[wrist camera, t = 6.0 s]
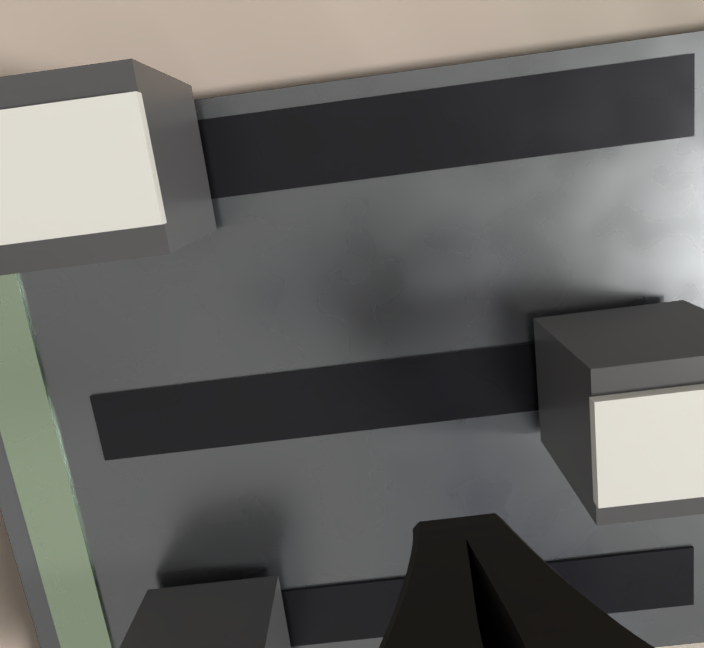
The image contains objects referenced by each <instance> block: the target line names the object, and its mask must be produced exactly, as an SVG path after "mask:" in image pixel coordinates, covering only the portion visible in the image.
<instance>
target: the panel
mask: <svg viewBox="0 0 704 648" xmlns="http://www.w3.org/2000/svg"><path fill="white" fill-rule="evenodd" d="M194 104H195V110H196V115H197V121H198V126H199V132H200V138H201V143H202V149H203V155H204V160H205V166H206V171H207V177H208V183H209V188H210V194H211V200H212V205H213V211H214V217H215V222H216V228H217V231H215V232H213V233H211V234H209V235H207V236H205V237H203V238H201V239H199V240H197V241H195V242H193V243H191V244H189V245H187V246H185V247H183V248H181V249H179V250H177V251H175V252H173V253H171V254H166V255H158V256H150V257H142V258H134V259H126V260H119V261H111V262H103V263H95V264H87V265H79V266H72V267H64V268H56V269H48V270H40V271H32V272H25V273H17V274H9V275H1V276H0V509H1V512H2V516H3V519H4V522H5V526H6V529H7V533H8V536H9V540H10V543H11V547H12V550H13V554H14V557H15V561H16V564H17V567H18V571H19V574H20V578H21V581H22V585H23V588H24V592H25V595H26V599H27V602H28V606H29V609H30V612H31V616H32V619H33V623H34V626H35V630H36V633H37V637H38V640H39V644H40V647H41V648H120V646H121V644H122V642H123V639H124V637H125V635H126V633H127V631H128V629H129V627H130V625H131V623H132V621H133V619H134V617H135V615H136V613H137V611H138V608H139V606H140V604H141V602H142V600H143V598H144V596H145V594H146V592H147V590H149V589H158V588H167V587H176V586H186V585H195V584H204V583H213V582H222V581H232V580H241V579H250V578H259V577H269V576H278V577H279V583H280V588H281V594H282V600H283V605H284V611H285V617H286V622H287V628H288V633H289V639H290V645H291V648H379V646H380V644H381V642H382V639H383V637H384V634H385V632H386V629H387V627H388V625H389V622H390V620H391V617H392V615H393V612H394V610H395V607H396V604H397V601H398V598H399V595H400V592H401V589H402V585H403V582H404V579H405V576H406V573H407V569H408V564H409V560H410V556H411V550H412V543H413V528H414V527H415V526H416V525H417V523H418V522H420V521H429V520H438V519H447V518H455V517H464V516H473V515H482V514H491V513H496V514H497V515H498V516H499V517H501V518H502V519H503V520H504V521H505V522H506V523H507V524H508V525H509V526H510V527H511V528H512V529H513V530H514V531H515V532H516V533H517V534H518V535H519V536H520V537H521V538H522V539H523V540H524V541H525V542H526V543H527V544H528V545H529V546H530V547H531V548H532V549H533V550H534V551H535V552H536V553H537V554H538V555H539V556H540V557H541V558H542V559H543V560H544V561H545V562H546V563H548V564H549V565H550V566H551V567H552V568H553V569H554V570H555V571H556V572H558V573H559V574H560V575H561V576H562V577H563V578H564V579H566V580H567V581H568V582H569V583H570V584H571V585H572V586H574V587H575V588H576V589H577V590H578V591H579V592H580V593H582V594H583V595H584V596H585V597H587V598H588V599H589V600H590V601H591V602H593V603H594V604H595V605H596V606H598V607H599V608H600V609H601V610H603V611H604V612H605V613H607V614H608V615H609V616H610V617H612V618H613V619H614V620H616V621H617V622H618V623H619V624H621V625H622V626H624V627H625V628H626V629H628V630H629V631H631V632H632V633H633V634H635V635H636V636H638V637H639V638H641V639H642V640H644V641H645V642H647V643H648V644H650V645H651V646H653V647H662V646H672V645H681V644H691V643H701V642H704V514H699V515H690V516H681V517H672V518H662V519H653V520H644V521H635V522H626V523H617V524H608V525H598V526H597V525H596V524H595V522H594V521H593V519H592V518H591V516H590V515H589V513H588V512H587V510H586V509H585V507H584V506H583V504H582V503H581V501H580V500H579V498H578V496H577V495H576V493H575V492H574V490H573V489H572V487H571V486H570V484H569V483H568V481H567V480H566V478H565V477H564V475H563V474H562V472H561V471H560V469H559V468H558V466H557V465H556V463H555V462H554V460H553V459H552V457H551V456H550V454H549V453H548V451H547V449H546V448H545V446H544V445H543V443H542V442H541V437H540V420H539V404H538V387H537V371H536V354H535V338H534V322H533V318H539V317H547V316H555V315H564V314H572V313H580V312H588V311H597V310H605V309H613V308H621V307H630V306H638V305H646V304H654V303H663V302H671V301H679V300H684V301H687V302H689V303H691V304H694V305H696V306H698V307H701V308H703V309H704V31H699V32H691V33H684V34H676V35H669V36H662V37H654V38H647V39H640V40H632V41H625V42H618V43H610V44H603V45H596V46H588V47H581V48H574V49H566V50H559V51H552V52H544V53H537V54H530V55H522V56H515V57H507V58H500V59H493V60H485V61H478V62H471V63H463V64H456V65H449V66H441V67H434V68H427V69H419V70H412V71H405V72H397V73H390V74H383V75H375V76H368V77H361V78H353V79H346V80H338V81H331V82H324V83H316V84H309V85H302V86H294V87H287V88H280V89H272V90H265V91H258V92H250V93H243V94H236V95H228V96H221V97H214V98H206V99H199V100H194Z"/></svg>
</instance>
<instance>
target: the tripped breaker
mask: <svg viewBox="0 0 704 648" xmlns="http://www.w3.org/2000/svg"><path fill="white" fill-rule="evenodd" d="M533 322H534V338H535V354H536V371H537V387H538V404H539V420H540V437H541V442H542V443H543V445H544V446H545V448H546V449H547V451H548V453H549V454H550V456H551V457H552V459H553V460H554V462H555V463H556V465H557V466H558V468H559V469H560V471H561V472H562V474H563V475H564V477H565V478H566V480H567V481H568V483H569V484H570V486H571V487H572V489H573V490H574V492H575V493H576V495H577V496H578V498H579V500H580V501H581V503H582V504H583V506H584V507H585V509H586V510H587V512H588V513H589V515H590V516H591V518H592V519H593V521H594V522H595V524H596V525H597V526H598V525H608V524H617V523H626V522H635V521H644V520H653V519H662V518H672V517H681V516H690V515H699V514H704V309H703V308H701V307H698V306H696V305H694V304H691V303H689V302H687V301H684V300H679V301H671V302H663V303H654V304H646V305H638V306H630V307H621V308H613V309H605V310H597V311H588V312H580V313H572V314H564V315H555V316H547V317H539V318H533Z"/></svg>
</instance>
